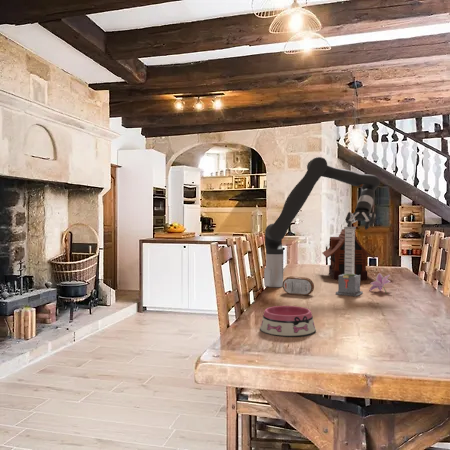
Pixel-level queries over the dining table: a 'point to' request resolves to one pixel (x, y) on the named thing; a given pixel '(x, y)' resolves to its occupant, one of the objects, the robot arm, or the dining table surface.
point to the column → (349, 250)
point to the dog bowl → (288, 321)
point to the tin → (298, 285)
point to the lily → (380, 282)
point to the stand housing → (349, 285)
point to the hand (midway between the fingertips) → (357, 228)
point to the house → (338, 257)
